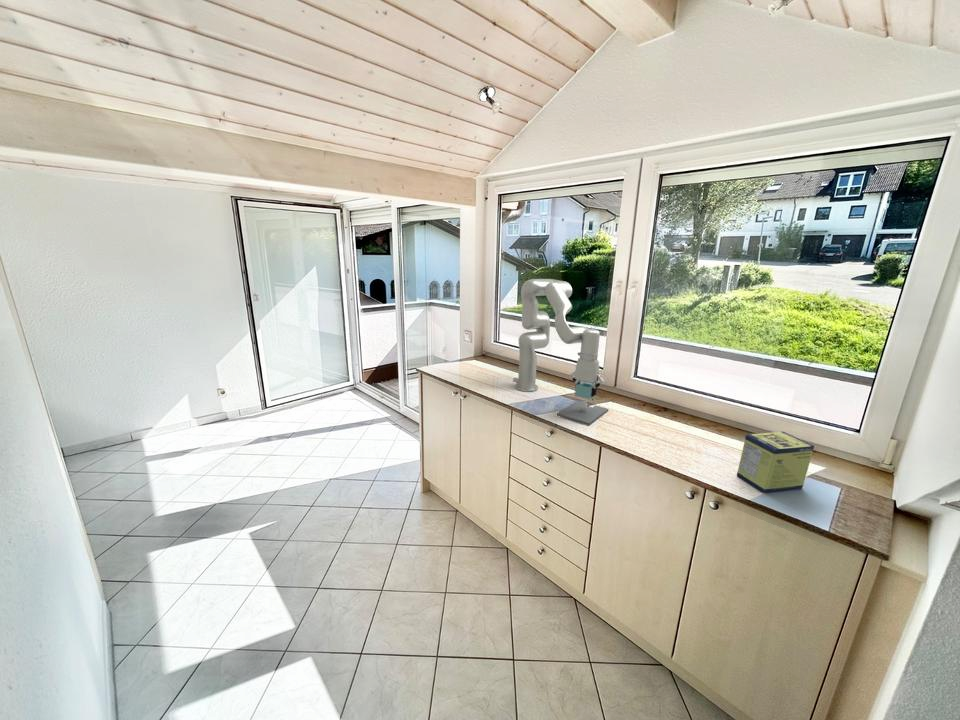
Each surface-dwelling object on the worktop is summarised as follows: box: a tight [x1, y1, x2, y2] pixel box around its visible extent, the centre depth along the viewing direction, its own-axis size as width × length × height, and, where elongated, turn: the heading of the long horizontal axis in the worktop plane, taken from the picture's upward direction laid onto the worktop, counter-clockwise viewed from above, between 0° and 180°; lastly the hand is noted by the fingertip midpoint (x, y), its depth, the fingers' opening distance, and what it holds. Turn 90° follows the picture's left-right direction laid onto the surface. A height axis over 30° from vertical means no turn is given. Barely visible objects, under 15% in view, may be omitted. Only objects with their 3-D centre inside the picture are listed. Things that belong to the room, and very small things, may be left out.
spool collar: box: [574, 381, 593, 400], centre depth 173 cm, size 7×7×5 cm
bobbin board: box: [555, 399, 609, 426], centre depth 175 cm, size 16×22×6 cm
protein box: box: [736, 431, 815, 494], centre depth 122 cm, size 10×16×16 cm
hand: (585, 393), depth 173 cm, fingers closed on spool collar, 7 cm apart
